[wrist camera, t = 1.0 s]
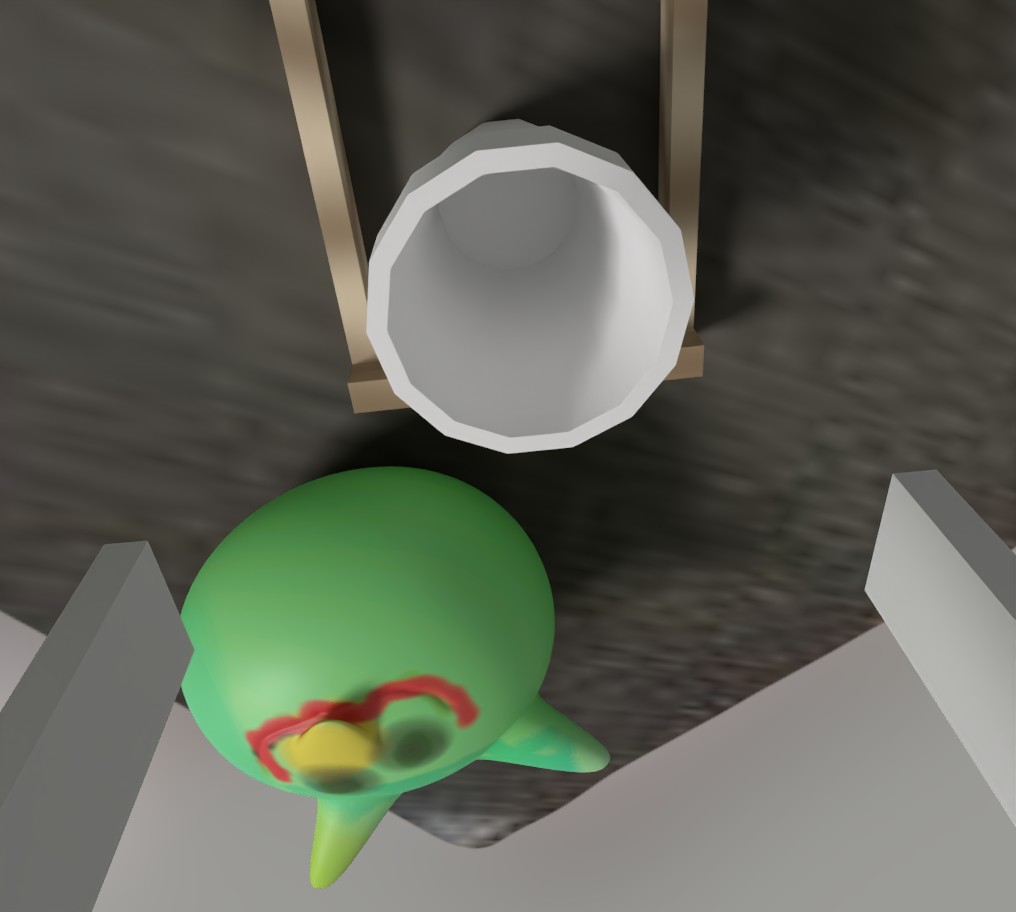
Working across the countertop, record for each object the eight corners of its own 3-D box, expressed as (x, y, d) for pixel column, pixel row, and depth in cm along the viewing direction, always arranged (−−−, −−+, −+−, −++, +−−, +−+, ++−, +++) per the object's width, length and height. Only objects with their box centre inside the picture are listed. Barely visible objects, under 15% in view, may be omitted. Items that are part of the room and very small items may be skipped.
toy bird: (457, 360, 37) (455, 560, 25) (592, 586, 46) (640, 819, 33) (159, 502, 41) (28, 738, 28) (336, 687, 49) (294, 930, 37)
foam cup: (371, 260, 34) (329, 401, 23) (435, 39, 29) (419, 86, 19) (566, 326, 36) (611, 483, 25) (654, 130, 32) (754, 220, 21)
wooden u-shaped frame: (279, -14, 28) (254, -10, 25) (694, -60, 28) (725, -63, 25) (364, 372, 37) (354, 413, 34) (680, 338, 37) (702, 376, 34)
